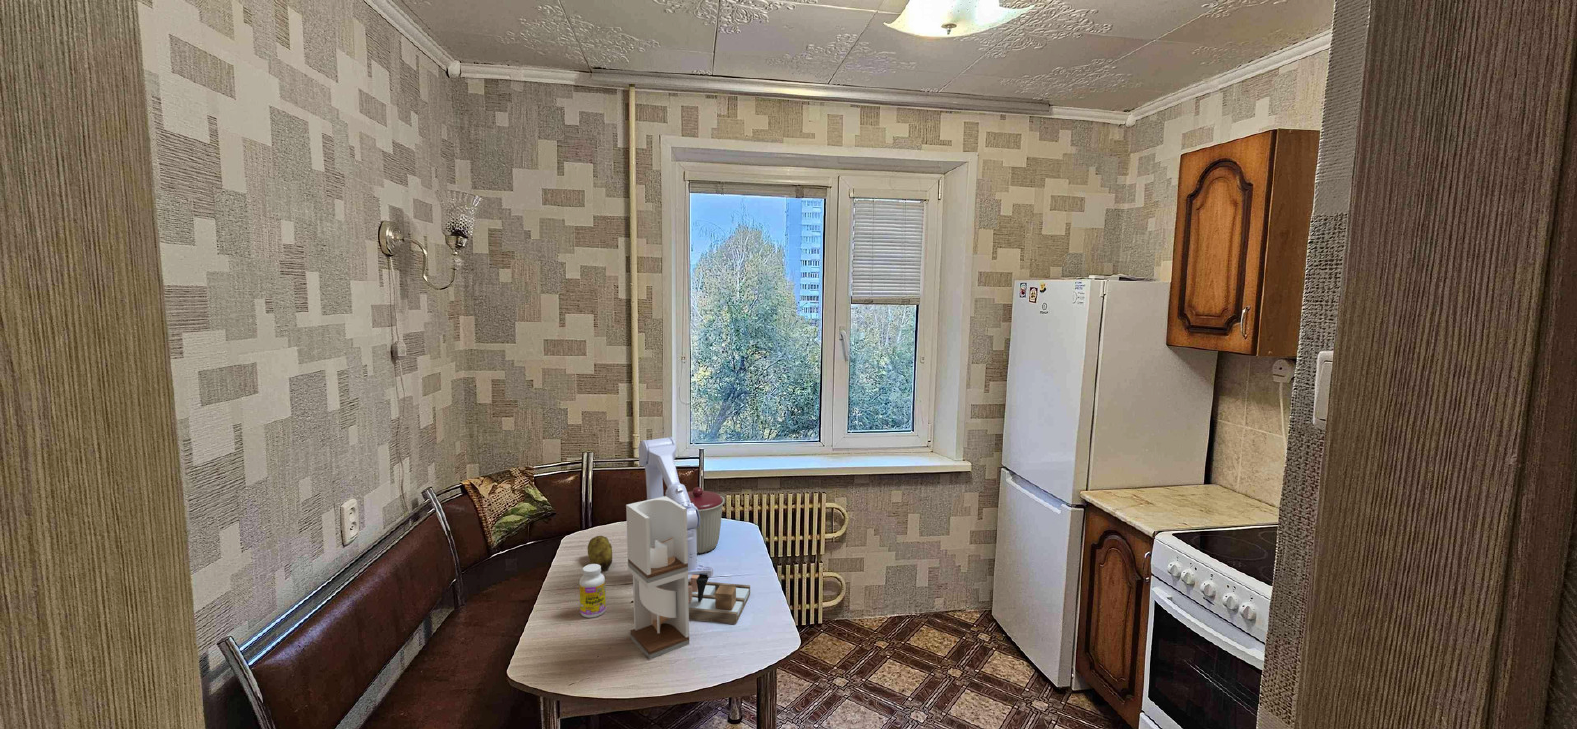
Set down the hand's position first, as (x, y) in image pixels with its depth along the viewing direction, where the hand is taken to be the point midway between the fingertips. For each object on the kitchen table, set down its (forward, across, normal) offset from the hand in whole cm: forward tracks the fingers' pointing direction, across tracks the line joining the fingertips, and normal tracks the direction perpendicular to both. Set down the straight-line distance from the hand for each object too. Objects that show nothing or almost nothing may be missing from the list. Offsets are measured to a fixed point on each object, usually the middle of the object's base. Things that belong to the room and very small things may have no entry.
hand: (687, 599), depth 168 cm
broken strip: (+3, +7, +8) cm, 11 cm away
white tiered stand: (+4, -2, -15) cm, 16 cm away
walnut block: (+1, +11, 0) cm, 11 cm away
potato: (+4, -37, +23) cm, 44 cm away
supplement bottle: (+4, -25, -5) cm, 26 cm away
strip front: (+2, +7, 0) cm, 7 cm away
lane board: (+3, +4, +4) cm, 6 cm away
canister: (+4, -10, +41) cm, 42 cm away
